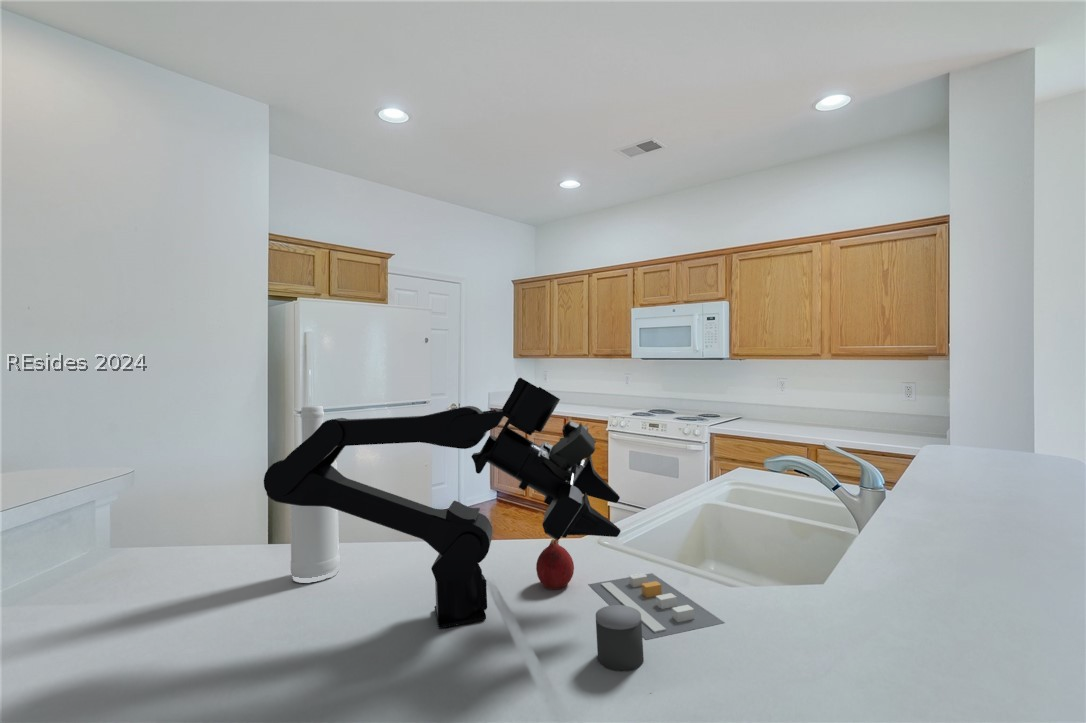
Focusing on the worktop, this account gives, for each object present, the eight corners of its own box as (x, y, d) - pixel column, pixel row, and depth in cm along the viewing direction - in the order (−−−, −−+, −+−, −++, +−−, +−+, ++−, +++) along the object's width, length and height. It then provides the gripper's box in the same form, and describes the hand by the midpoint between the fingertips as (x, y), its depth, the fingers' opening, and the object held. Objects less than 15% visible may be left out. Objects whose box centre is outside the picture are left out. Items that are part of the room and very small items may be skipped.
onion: (572, 601, 73) (569, 545, 73) (533, 599, 74) (531, 545, 74) (577, 585, 78) (574, 534, 79) (541, 584, 80) (539, 533, 80)
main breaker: (646, 597, 70) (646, 587, 70) (642, 593, 71) (641, 583, 71) (661, 594, 71) (661, 584, 71) (656, 590, 72) (656, 581, 72)
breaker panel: (646, 650, 58) (645, 629, 59) (588, 592, 76) (587, 576, 76) (725, 632, 62) (724, 612, 62) (652, 580, 79) (651, 565, 79)
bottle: (307, 587, 83) (304, 407, 84) (281, 579, 87) (278, 408, 88) (349, 571, 89) (345, 404, 91) (322, 565, 94) (319, 405, 95)
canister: (610, 687, 52) (606, 629, 52) (591, 662, 56) (588, 609, 57) (652, 677, 53) (649, 620, 53) (631, 654, 58) (628, 602, 58)
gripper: (543, 440, 60) (654, 506, 60) (559, 396, 78) (645, 446, 78) (500, 510, 63) (606, 572, 63) (525, 451, 81) (608, 500, 81)
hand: (618, 515), depth 71 cm, fingers open, 9 cm apart
